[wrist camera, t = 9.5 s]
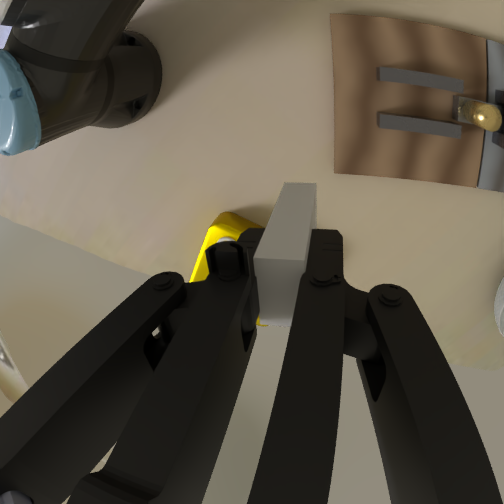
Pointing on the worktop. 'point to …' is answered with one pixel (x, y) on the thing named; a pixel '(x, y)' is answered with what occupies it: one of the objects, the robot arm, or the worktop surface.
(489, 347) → the worktop surface
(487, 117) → the bolt
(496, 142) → the bolt housing
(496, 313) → the cereal bowl
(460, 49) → the door and jamb
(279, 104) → the worktop surface
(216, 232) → the element tile
